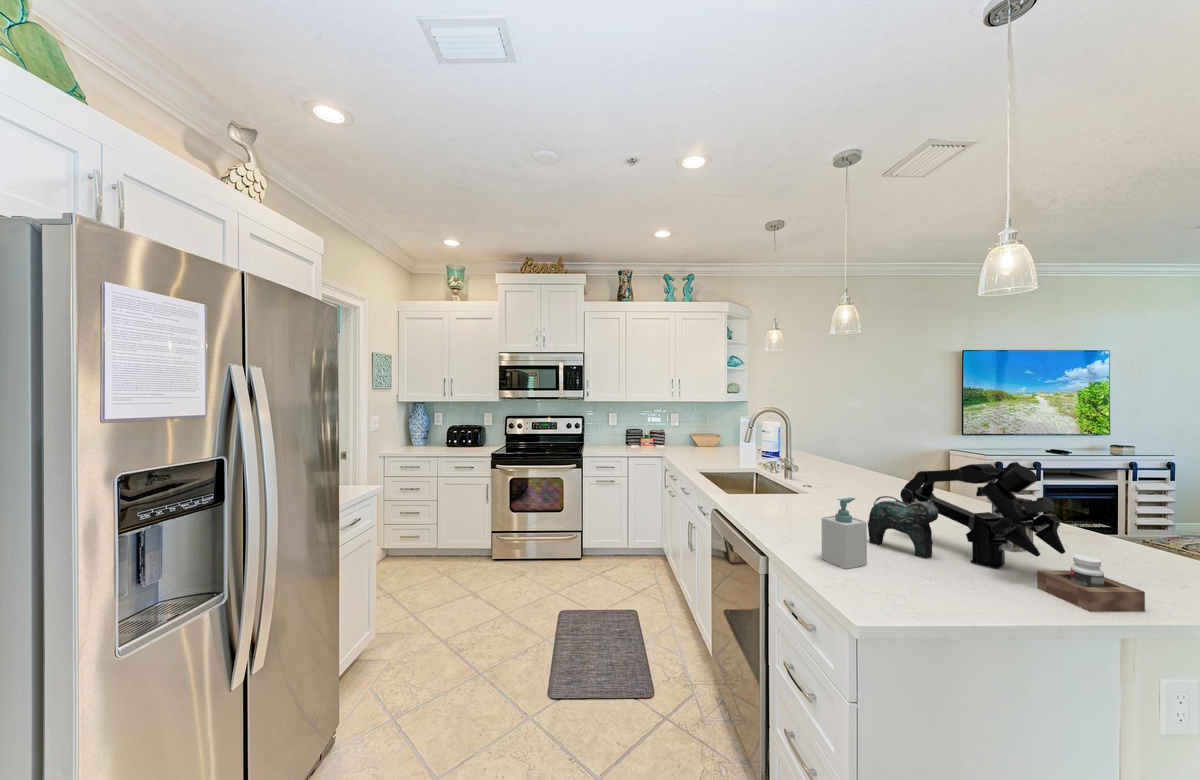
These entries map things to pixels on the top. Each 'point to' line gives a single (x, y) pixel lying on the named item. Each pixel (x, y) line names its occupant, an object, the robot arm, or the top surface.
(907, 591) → the top surface
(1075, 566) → the pill bottle
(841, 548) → the soap bottle
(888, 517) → the ceramic cat
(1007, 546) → the coffee box
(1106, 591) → the walnut socket
